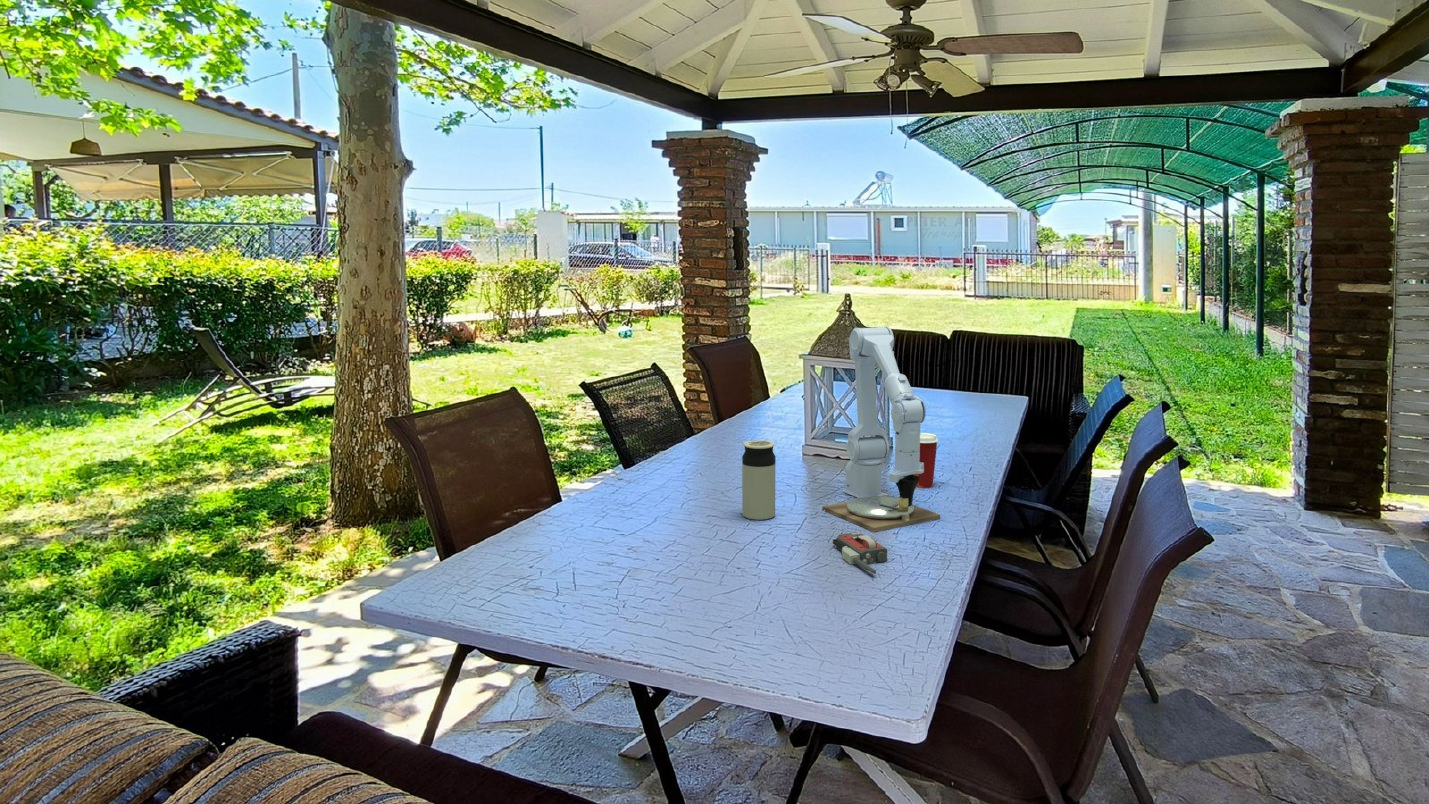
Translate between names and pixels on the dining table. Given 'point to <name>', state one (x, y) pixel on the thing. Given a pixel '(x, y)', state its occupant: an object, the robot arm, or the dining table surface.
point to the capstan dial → (880, 507)
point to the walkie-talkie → (860, 550)
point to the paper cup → (927, 459)
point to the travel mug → (758, 480)
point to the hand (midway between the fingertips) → (906, 505)
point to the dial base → (881, 524)
